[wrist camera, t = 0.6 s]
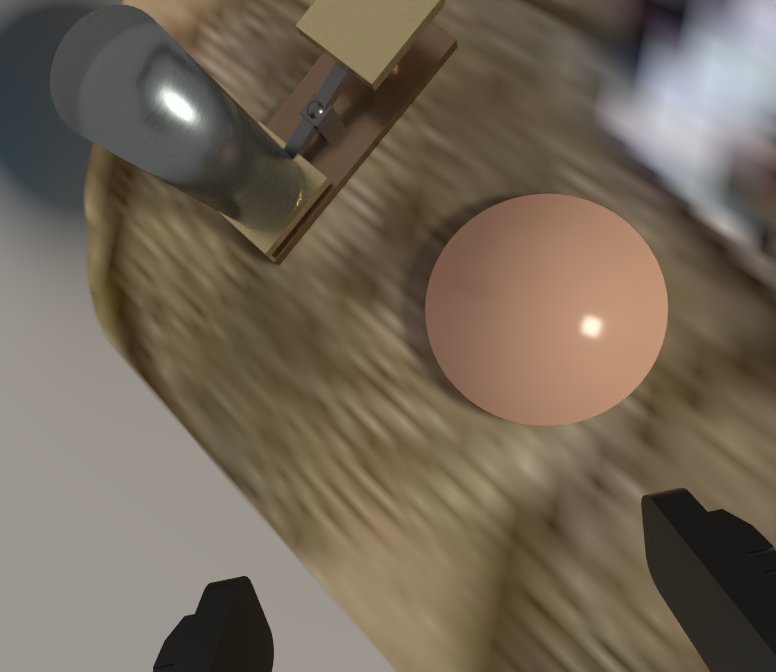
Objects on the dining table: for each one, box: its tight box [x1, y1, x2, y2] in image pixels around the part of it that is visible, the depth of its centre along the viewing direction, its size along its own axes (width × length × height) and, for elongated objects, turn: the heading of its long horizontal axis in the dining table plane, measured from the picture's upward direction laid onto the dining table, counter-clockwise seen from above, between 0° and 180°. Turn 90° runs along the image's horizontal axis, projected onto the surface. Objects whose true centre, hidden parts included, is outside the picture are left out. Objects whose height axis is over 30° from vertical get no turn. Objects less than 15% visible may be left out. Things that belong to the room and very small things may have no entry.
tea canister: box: [50, 5, 301, 229], centre depth 28 cm, size 6×6×14 cm
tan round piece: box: [425, 194, 668, 426], centre depth 32 cm, size 14×14×1 cm
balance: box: [216, 0, 457, 265], centre depth 34 cm, size 19×7×5 cm, turn 138°
